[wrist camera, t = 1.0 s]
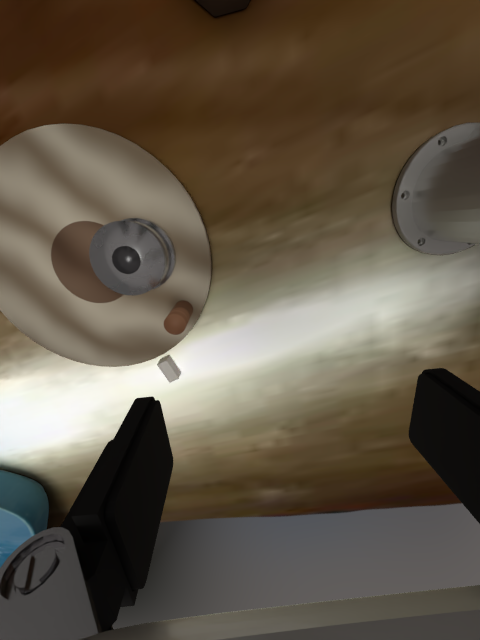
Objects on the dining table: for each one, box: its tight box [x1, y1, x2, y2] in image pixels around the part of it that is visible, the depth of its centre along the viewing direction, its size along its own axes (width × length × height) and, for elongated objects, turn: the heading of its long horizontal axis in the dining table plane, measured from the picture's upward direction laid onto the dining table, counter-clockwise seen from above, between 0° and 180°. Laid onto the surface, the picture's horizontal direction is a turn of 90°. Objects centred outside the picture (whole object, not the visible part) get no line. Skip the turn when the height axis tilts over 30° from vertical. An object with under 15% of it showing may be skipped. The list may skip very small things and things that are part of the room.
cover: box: [89, 218, 176, 296], centre depth 27 cm, size 8×8×4 cm
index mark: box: [157, 355, 181, 382], centre depth 35 cm, size 3×1×2 cm, turn 27°
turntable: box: [0, 124, 212, 367], centre depth 27 cm, size 26×26×6 cm
